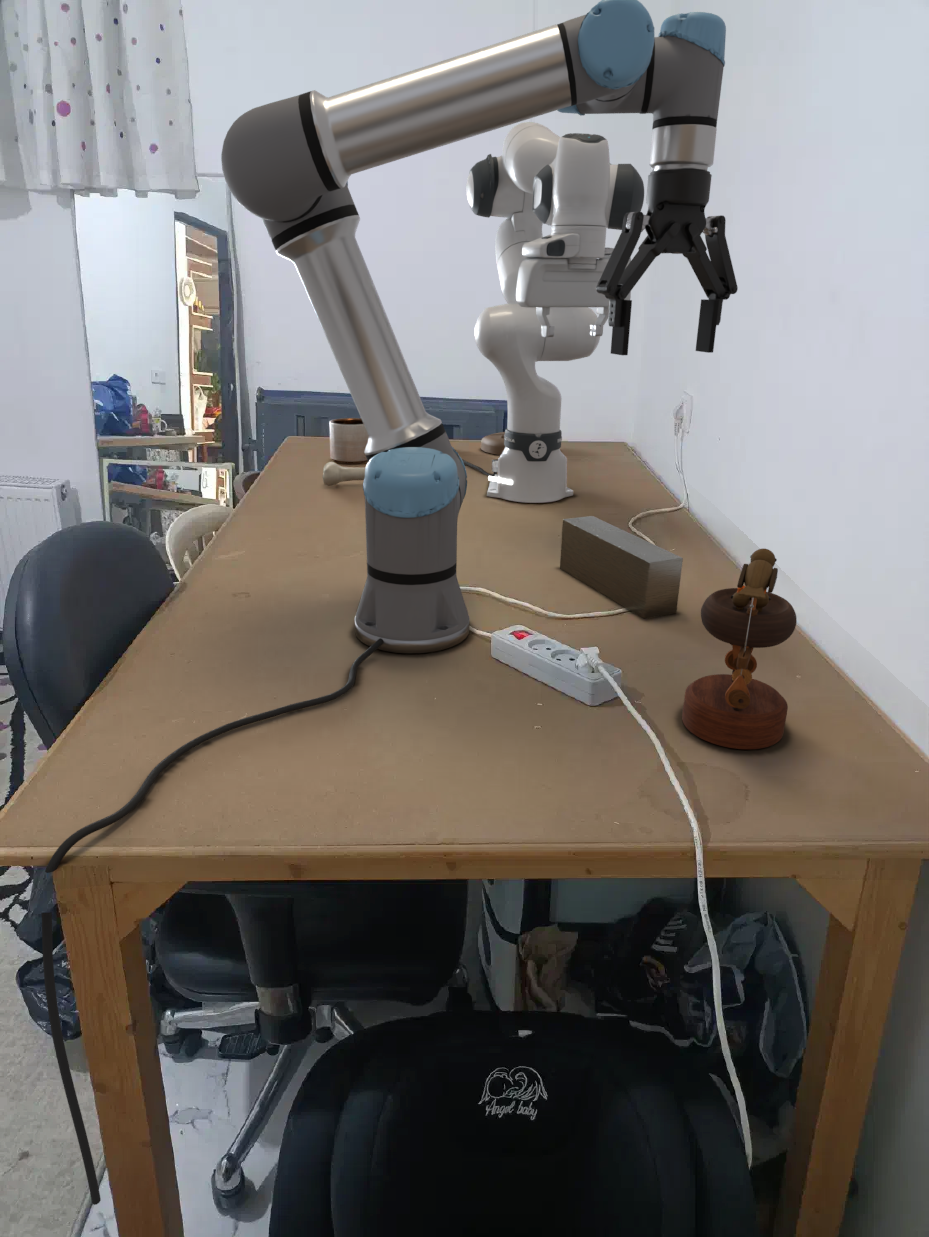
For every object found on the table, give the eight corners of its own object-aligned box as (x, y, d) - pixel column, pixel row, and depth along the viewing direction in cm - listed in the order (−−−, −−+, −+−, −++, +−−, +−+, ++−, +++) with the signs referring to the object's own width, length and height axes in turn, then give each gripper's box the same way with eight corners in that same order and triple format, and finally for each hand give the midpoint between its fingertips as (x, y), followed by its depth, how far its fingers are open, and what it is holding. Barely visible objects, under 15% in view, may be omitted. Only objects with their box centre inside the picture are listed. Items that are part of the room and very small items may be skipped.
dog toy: (411, 480, 194) (411, 458, 192) (414, 486, 189) (414, 464, 187) (322, 482, 191) (321, 460, 189) (322, 488, 185) (321, 465, 184)
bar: (676, 613, 121) (683, 557, 117) (643, 619, 118) (649, 562, 115) (588, 564, 140) (592, 515, 137) (559, 568, 138) (562, 519, 135)
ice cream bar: (486, 465, 210) (486, 448, 209) (479, 444, 236) (479, 428, 235) (570, 465, 211) (571, 449, 210) (554, 444, 237) (554, 429, 236)
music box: (804, 761, 84) (822, 570, 76) (690, 761, 85) (697, 574, 78) (770, 691, 98) (782, 524, 90) (673, 692, 99) (677, 527, 92)
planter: (327, 456, 217) (325, 418, 214) (369, 454, 220) (368, 417, 217) (334, 465, 208) (332, 425, 204) (377, 463, 211) (376, 424, 207)
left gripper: (739, 178, 110) (719, 348, 118) (575, 167, 101) (565, 353, 109) (781, 173, 104) (756, 353, 112) (610, 160, 94) (597, 358, 102)
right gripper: (620, 248, 143) (613, 334, 149) (513, 245, 136) (510, 336, 141) (642, 248, 138) (634, 337, 143) (532, 244, 130) (528, 338, 135)
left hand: (662, 353), depth 110 cm, fingers open, 13 cm apart
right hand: (572, 336), depth 142 cm, fingers open, 8 cm apart
